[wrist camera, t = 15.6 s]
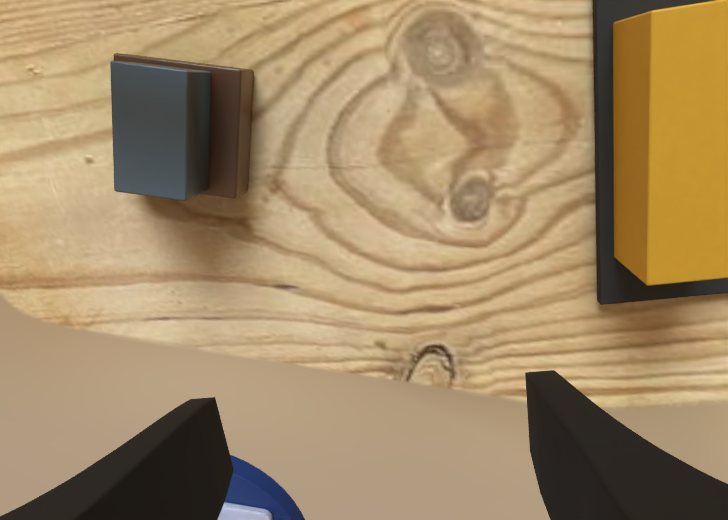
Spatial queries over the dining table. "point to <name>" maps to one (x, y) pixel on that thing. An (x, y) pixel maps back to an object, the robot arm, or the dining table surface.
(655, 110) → the bar
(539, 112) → the dining table surface
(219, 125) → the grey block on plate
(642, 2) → the mat
